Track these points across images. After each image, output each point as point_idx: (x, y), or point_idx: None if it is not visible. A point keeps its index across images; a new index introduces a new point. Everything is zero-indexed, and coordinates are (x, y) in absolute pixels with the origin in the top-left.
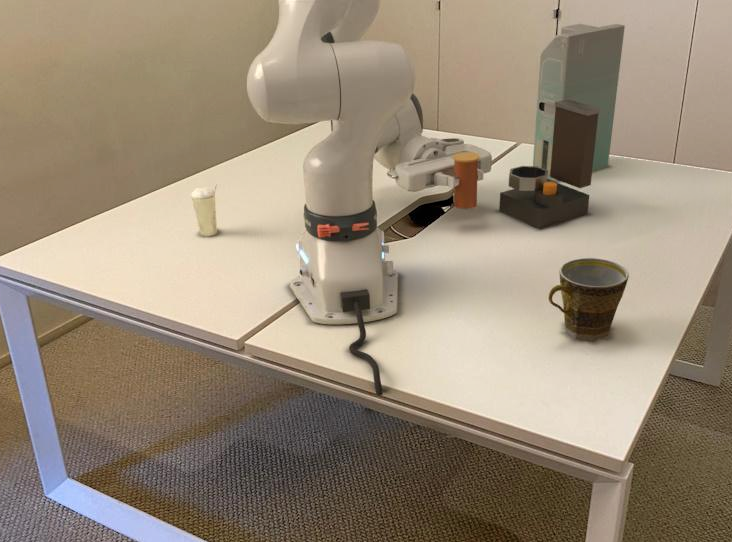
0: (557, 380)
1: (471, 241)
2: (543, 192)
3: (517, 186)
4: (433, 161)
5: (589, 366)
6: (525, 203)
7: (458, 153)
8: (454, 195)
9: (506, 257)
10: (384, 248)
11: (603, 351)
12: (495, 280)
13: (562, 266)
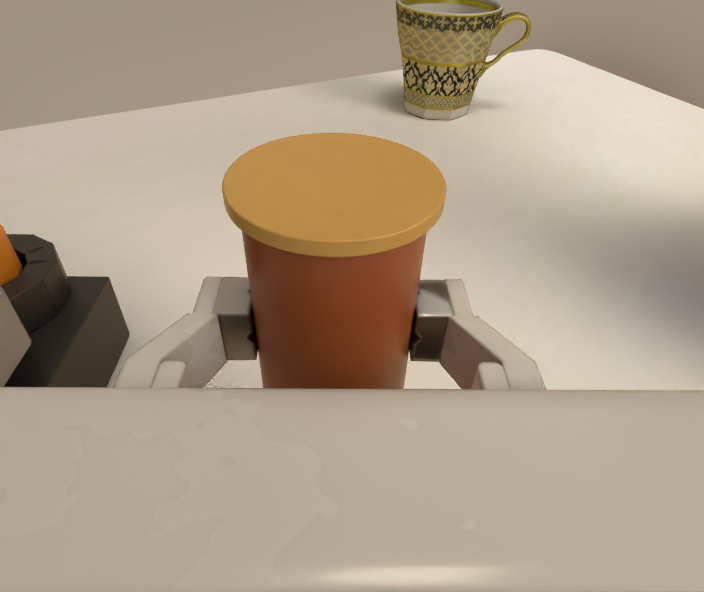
0: (538, 87)
1: None
2: (8, 272)
3: (20, 337)
4: (463, 586)
5: (485, 86)
6: (72, 340)
7: (341, 231)
8: None
9: None
10: None
11: None
12: (472, 221)
13: (484, 12)
